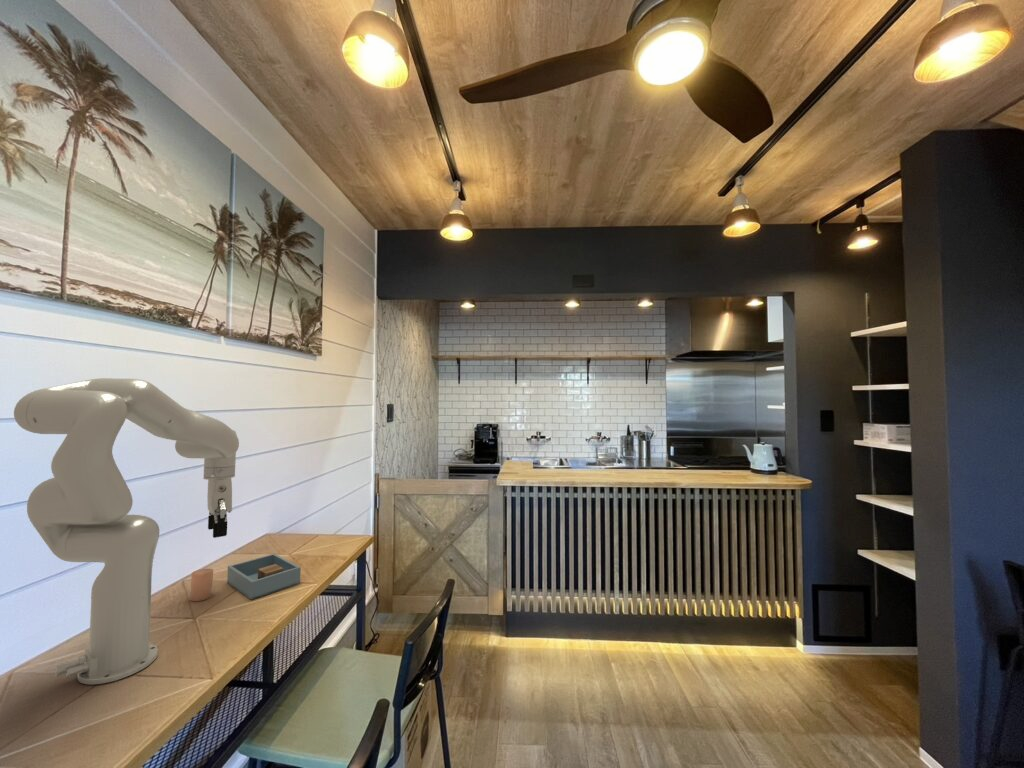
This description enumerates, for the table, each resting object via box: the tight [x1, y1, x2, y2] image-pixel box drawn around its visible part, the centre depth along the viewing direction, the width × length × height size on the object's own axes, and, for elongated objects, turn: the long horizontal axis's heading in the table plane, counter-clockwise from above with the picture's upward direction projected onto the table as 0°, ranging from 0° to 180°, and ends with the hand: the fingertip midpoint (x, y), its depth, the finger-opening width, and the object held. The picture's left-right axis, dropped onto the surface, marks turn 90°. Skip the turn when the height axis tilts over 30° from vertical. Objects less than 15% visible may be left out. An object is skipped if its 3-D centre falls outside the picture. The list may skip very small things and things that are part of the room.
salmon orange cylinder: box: [189, 568, 214, 602], centre depth 121 cm, size 5×5×7 cm
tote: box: [226, 553, 302, 601], centre depth 130 cm, size 14×18×5 cm
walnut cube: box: [258, 564, 283, 579], centre depth 127 cm, size 5×5×5 cm
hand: (217, 532), depth 122 cm, fingers open, 9 cm apart
